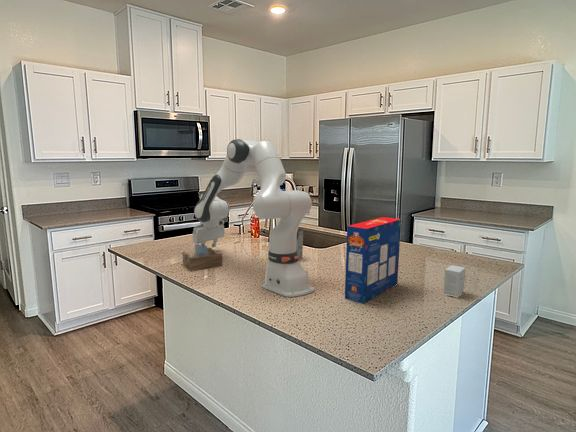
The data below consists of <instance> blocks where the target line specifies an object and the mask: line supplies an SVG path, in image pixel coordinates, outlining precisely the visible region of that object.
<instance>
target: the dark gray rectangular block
mask: <svg viewBox="0 0 576 432" xmlns="http://www.w3.org/2000/svg"><path fill="white" fill-rule="evenodd" d="M193 256H194V257H199V256H206V255H205V254H203V253H198V254H196V253H194V255H193Z"/></svg>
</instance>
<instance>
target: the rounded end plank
mask: <svg viewBox="0 0 576 432" xmlns="http://www.w3.org/2000/svg"><path fill="white" fill-rule="evenodd" d="M205 246H206V245H205ZM205 246H202V245H201V244H200V243H194V252H195V253H194V254H198V253H203V254H205V255H208V249H210V248H211V247H208V246H207V247H205Z"/></svg>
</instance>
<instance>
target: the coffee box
mask: <svg viewBox="0 0 576 432" xmlns="http://www.w3.org/2000/svg"><path fill="white" fill-rule="evenodd" d="M303 242H304V228H300V227H299V228H298V231H297V239H296V251H297V254H298V256H299V257H298V258H299V261H301V260H302V259H303V255H304V254H303V247H304V246H303V245H304V243H303ZM301 258H302V259H301ZM300 259H301V260H300Z"/></svg>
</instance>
